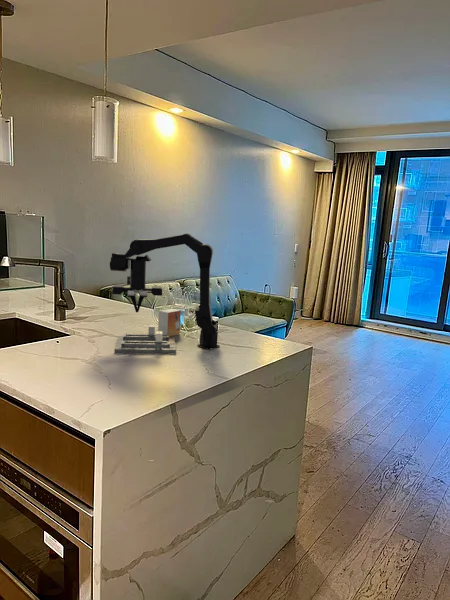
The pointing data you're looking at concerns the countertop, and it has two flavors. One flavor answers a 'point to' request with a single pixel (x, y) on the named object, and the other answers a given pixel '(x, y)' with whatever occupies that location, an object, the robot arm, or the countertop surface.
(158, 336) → the block
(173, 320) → the small box
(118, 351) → the panel
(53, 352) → the countertop surface
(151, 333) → the fader cap grey
